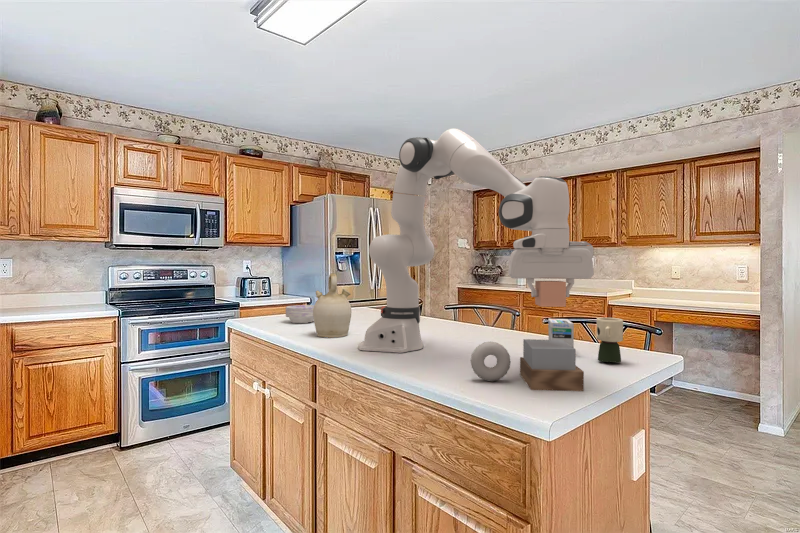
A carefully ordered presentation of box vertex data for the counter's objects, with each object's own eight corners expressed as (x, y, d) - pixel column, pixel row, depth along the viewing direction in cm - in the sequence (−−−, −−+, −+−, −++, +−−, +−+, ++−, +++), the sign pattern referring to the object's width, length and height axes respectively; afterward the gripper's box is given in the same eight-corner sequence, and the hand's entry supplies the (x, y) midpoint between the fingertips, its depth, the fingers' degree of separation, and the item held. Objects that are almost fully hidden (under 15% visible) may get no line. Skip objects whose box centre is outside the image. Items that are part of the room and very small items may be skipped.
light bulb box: (574, 357, 140) (574, 323, 140) (551, 356, 142) (551, 322, 141) (568, 350, 151) (568, 318, 150) (547, 349, 152) (547, 318, 152)
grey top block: (532, 369, 107) (532, 348, 107) (523, 358, 119) (523, 339, 119) (575, 370, 106) (575, 349, 106) (562, 358, 118) (562, 339, 118)
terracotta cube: (540, 306, 109) (540, 281, 109) (535, 304, 115) (535, 280, 115) (565, 306, 109) (565, 281, 108) (559, 304, 114) (559, 280, 114)
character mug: (599, 357, 140) (599, 316, 139) (624, 360, 136) (625, 317, 136) (593, 364, 131) (593, 320, 130) (620, 367, 127) (620, 322, 126)
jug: (352, 331, 188) (352, 272, 187) (350, 338, 172) (349, 273, 172) (316, 332, 187) (315, 272, 187) (310, 338, 172) (309, 273, 171)
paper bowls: (302, 319, 226) (302, 303, 226) (324, 321, 217) (324, 305, 217) (278, 322, 214) (278, 306, 214) (300, 325, 205) (300, 308, 205)
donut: (471, 382, 112) (471, 342, 112) (469, 378, 115) (470, 340, 115) (511, 383, 111) (512, 343, 111) (509, 379, 115) (509, 340, 115)
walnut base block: (531, 391, 106) (531, 370, 106) (520, 375, 120) (520, 357, 120) (583, 392, 105) (583, 371, 105) (566, 376, 119) (566, 358, 119)
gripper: (589, 241, 114) (588, 296, 114) (507, 242, 115) (507, 295, 116) (598, 240, 107) (597, 298, 108) (511, 241, 109) (511, 297, 109)
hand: (550, 296), depth 112 cm, fingers closed on terracotta cube, 6 cm apart
